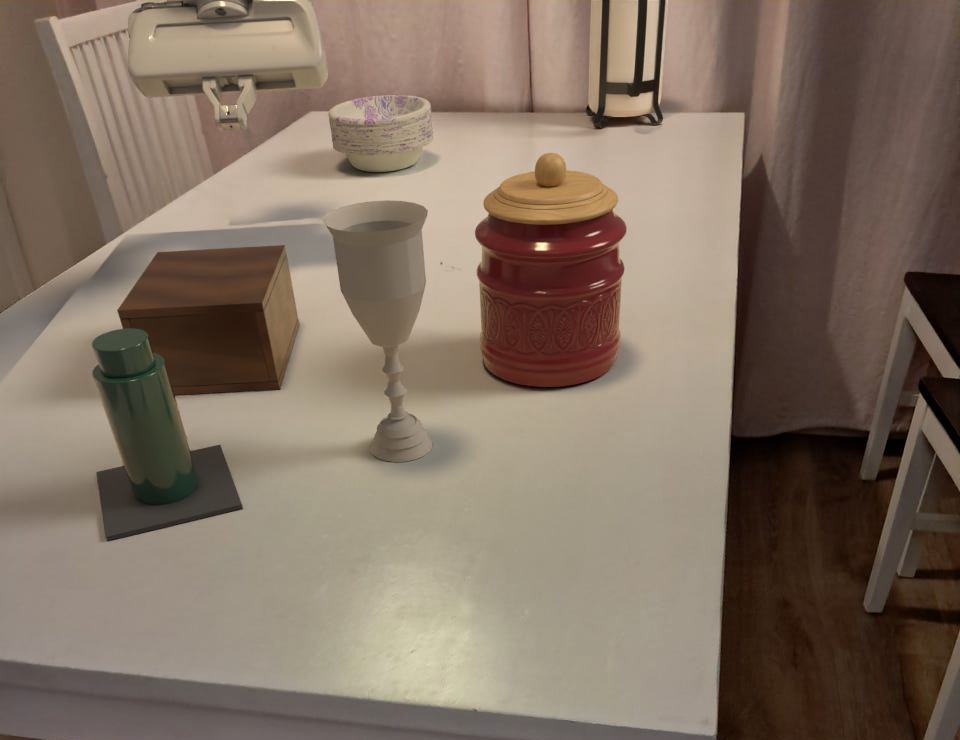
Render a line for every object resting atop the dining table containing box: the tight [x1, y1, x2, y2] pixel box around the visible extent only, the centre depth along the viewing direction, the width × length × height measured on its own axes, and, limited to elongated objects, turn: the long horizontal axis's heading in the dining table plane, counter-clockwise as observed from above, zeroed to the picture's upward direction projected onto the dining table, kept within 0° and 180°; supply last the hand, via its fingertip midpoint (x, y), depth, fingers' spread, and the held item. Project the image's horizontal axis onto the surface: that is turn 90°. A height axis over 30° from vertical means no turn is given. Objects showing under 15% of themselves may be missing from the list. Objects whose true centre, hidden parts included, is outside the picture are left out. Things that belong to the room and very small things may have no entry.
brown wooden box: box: [116, 244, 300, 396], centre depth 87 cm, size 15×13×8 cm
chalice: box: [322, 200, 433, 463], centre depth 70 cm, size 7×7×18 cm
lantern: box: [585, 0, 670, 129], centre depth 144 cm, size 17×16×30 cm
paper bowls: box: [327, 94, 434, 173], centre depth 138 cm, size 15×15×8 cm
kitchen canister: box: [474, 152, 628, 388], centre depth 81 cm, size 13×13×18 cm
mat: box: [95, 444, 243, 542], centre depth 72 cm, size 10×10×1 cm
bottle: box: [91, 328, 199, 505], centre depth 68 cm, size 5×5×12 cm
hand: (231, 126), depth 95 cm, fingers closed
